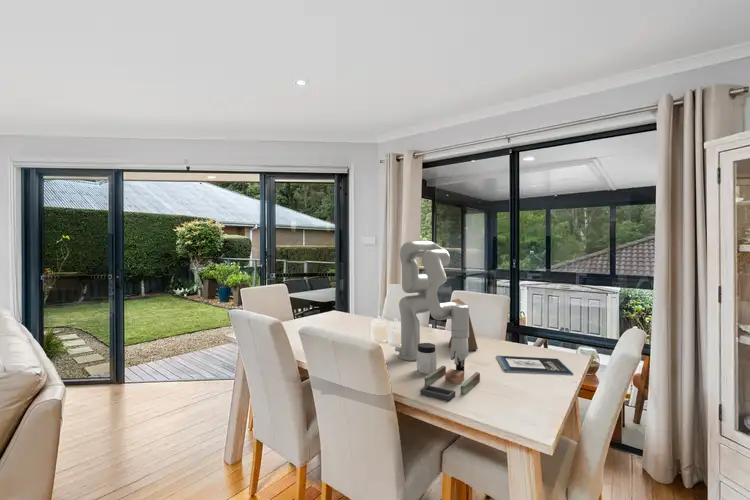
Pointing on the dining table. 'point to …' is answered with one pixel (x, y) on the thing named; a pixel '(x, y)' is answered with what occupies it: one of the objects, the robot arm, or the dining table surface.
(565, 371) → the sketchbook
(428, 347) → the jar
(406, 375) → the dining table surface
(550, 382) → the dining table surface
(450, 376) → the terracotta block
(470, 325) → the photo frame
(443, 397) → the tray
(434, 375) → the walled channel
